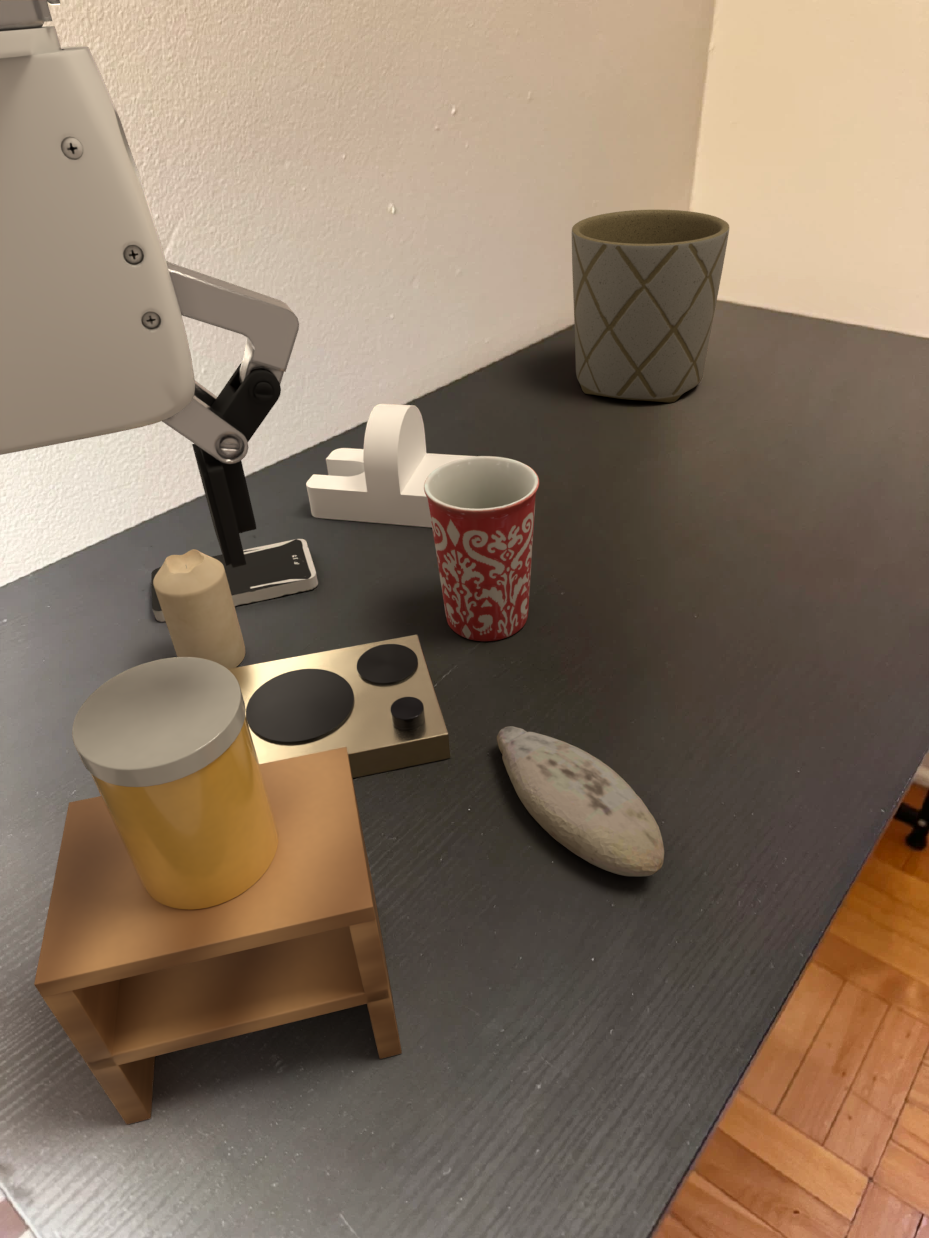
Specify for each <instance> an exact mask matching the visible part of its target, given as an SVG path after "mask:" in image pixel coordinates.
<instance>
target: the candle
mask: <svg viewBox="0 0 929 1238" xmlns="http://www.w3.org/2000/svg"><path fill="white" fill-rule="evenodd" d="M160 567H161V568H160V570H159V571H158V572H157V574H156V575H155V577H154V580H153V584H154V588H155V591H156V594H157V597H158V600H159V603H160V606H161V609H162V612H163V615H164V618H165V621H166V622H165V624H166V627H167V630H168V633H169V637H170V639H171V642H172V645H173V648H174V651H175V654H176V657H194V658H202V659H206V660H210V661H213V662H216V663H218V664H220V665H222V666H224V667H225V668H227V669H231V668H236V667H239V665H241V663H242V662H243V661H244V659H245V656H246V646H245V645H246V644H245V641H244V637H243V633H242V629H241V625H240V621H239V618H238V614H237V610H236V606H234V603H233V599H232V595H231V592H230V588H229V584H228V580H227V577H226V573H225V569H224V566H223V564H222V563H221V562H220V561H218V560H217V559H215V558H212V556H209V555H208V554H205V553H203V552H202V551H199V550H198V549H190V550H188V551H186V552H185V553H183V554H171V555H168V556H166V558H165V559H164V561H163V563H162V565H161V566H160Z"/></svg>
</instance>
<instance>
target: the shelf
mask: <svg viewBox="0 0 929 1238" xmlns="http://www.w3.org/2000/svg"><path fill="white" fill-rule="evenodd" d="M259 765H260V768H261V772H262V775H263V779H264V782H265V786H266V789H267V793H268V796H269V800H270V803H271V807H272V810H273V814H274V818H275V821H276V825H277V828H278V846H277V850H276V853H275V856H274V859H273V861H272V863H271V865H270V866H269V868H268V869H267V871H266V872H265V873H264V875H263V876H262V877H261V878H260V879H259V880H258V881H257V882H256V883H255V884H254V885H253V886H252V887H250V888H249V889H248V890H246V891H245V892H244V893H242V894H240V895H239V896H237V897H235V898H233V899H231V900H229V901H227V902H225V903H222V904H219V905H216V906H213V907H209V908H203V909H194V910H185V909H177V908H172V907H169V906H166V905H163V904H161V903H159V902H157V901H156V900H155V899H153V898H152V897H151V896H150V895H149V894H148V893H147V892H146V891H145V889H144V888H143V886H142V884H141V882H140V880H139V877H138V875H137V873H136V871H135V869H134V867H133V864H132V862H131V860H130V858H129V856H128V854H127V851H126V849H125V847H124V845H123V843H122V841H121V838H120V836H119V834H118V832H117V830H116V828H115V825H114V823H113V821H112V819H111V817H110V815H109V812H108V810H107V808H106V806H105V804H104V801H103V799H102V797H101V795H98V796H94V797H90V798H84V799H79V800H73V801H70V802H68V806H67V810H66V814H65V815H66V816H65V820H64V826H63V831H62V836H61V842H60V847H59V853H58V857H57V862H56V868H55V873H54V877H53V878H54V879H53V883H52V889H51V893H50V899H49V905H48V909H47V914H46V920H45V924H44V925H45V926H44V930H43V936H42V940H41V946H40V952H39V957H38V961H37V966H36V970H35V971H36V972H35V978H34V982H33V986H34V987H35V989H36V990H37V992H38V993H39V995H40V996H41V998H42V999H43V1001H44V1002H45V1004H46V1005H47V1007H48V1008H49V1010H50V1012H51V1013H52V1015H53V1016H54V1017H55V1019H56V1020H57V1022H58V1023H59V1025H60V1027H61V1028H62V1029H63V1031H64V1033H65V1034H66V1035H67V1037H68V1038H69V1040H70V1042H71V1044H72V1045H73V1046H74V1048H75V1050H77V1052H78V1053H79V1056H81V1058H82V1060H83V1061H84V1063H85V1064H86V1065H87V1067H88V1069H89V1070H90V1071H91V1074H93V1076H94V1078H95V1080H97V1082H98V1083H99V1085H100V1087H101V1088H102V1090H103V1091H104V1093H105V1094H106V1096H107V1098H109V1101H110V1102H111V1103H112V1105H113V1106H114V1108H115V1110H116V1111H117V1112H118V1114H119V1115H120V1117H121V1118H122V1120H123V1121H124V1123H125V1124H126V1125H131V1124H135V1123H139V1122H143V1121H146V1120H150V1119H152V1109H153V1108H152V1107H153V1092H154V1078H155V1061H156V1056H157V1057H158V1056H162V1055H165V1054H169V1053H173V1052H177V1051H182V1050H185V1049H190V1048H193V1047H197V1046H201V1045H205V1044H210V1043H215V1042H218V1041H222V1040H225V1039H226V1040H227V1039H230V1038H234V1037H239V1036H242V1035H247V1034H251V1033H254V1032H258V1031H263V1030H267V1029H271V1028H275V1027H278V1026H283V1025H287V1024H291V1023H294V1022H299V1021H302V1020H306V1019H310V1018H315V1017H318V1016H322V1015H327V1014H330V1013H334V1012H339V1011H343V1010H348V1009H351V1008H355V1007H359V1006H364V1005H366V1006H367V1011H368V1015H369V1020H370V1025H371V1028H372V1033H373V1037H374V1041H375V1045H376V1050H377V1054H378V1058H379V1060H383V1059H386V1058H390V1057H393V1056H397V1055H401V1054H402V1053H403V1050H402V1043H401V1038H400V1033H399V1026H398V1022H397V1014H396V1009H395V1004H394V999H393V992H392V986H391V981H390V975H389V969H388V963H387V957H386V952H385V946H384V940H383V935H382V928H381V922H380V917H379V911H378V905H377V899H376V893H375V888H374V884H373V883H374V882H373V878H372V873H371V868H370V862H369V857H368V853H367V846H366V841H365V835H364V831H363V826H362V820H361V814H360V809H359V805H358V799H357V795H356V790H355V789H356V788H355V784H354V778H352V773H351V768H350V762H349V757H348V752H347V747H343V748H338V749H333V750H328V751H323V752H318V753H313V754H308V755H303V756H298V757H293V758H288V759H283V760H278V761H273V762H268V763H263V764H259Z"/></svg>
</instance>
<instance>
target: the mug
mask: <svg viewBox="0 0 929 1238" xmlns="http://www.w3.org/2000/svg"><path fill="white" fill-rule="evenodd" d="M475 456H476V457H468V458H463V459H458V460H455V461H451V462H449V463H446V464H444V465H442V466H440V467H438V468H437V469H435V470H434V471H433V472H432V473H430V474H429V476H428V477H427V478H426V480H425V483H424V492H425V495H426V496H427V498H428V504H429V510H430V516H431V523H432V527H431V528H432V535H433V542H434V548H435V553H436V560H437V561H436V562H437V568H438V575H439V581H440V586H441V592H442V599H443V605H444V613H445V617H446V623H447V625H448V626H449V628H450V629H451V630H452V631H453V632H454V633H455V634H457V635H459V636H460V637H462V638H465V639H467V640H471V641H476V642H495V641H501V640H504V639H507V638H509V637H511V636H514V635H515V634H517V633H518V632H519V631H520V630H521V629H522V628H524V626H525V625H526V623H527V621H528V617H529V611H530V610H529V608H530V591H531V590H530V589H531V575H532V559H533V558H532V557H533V542H534V528H535V513H536V511H535V510H536V495H537V491H538V489H539V487H540V479H539V475H538V474H537V472H536V471H535V470H534V469H533V468H532V467H530V466H529V465H527V464H526V463H523V462H521V461H519V460H516V459H512V458H508V457H503V456H492V455H478V456H477V455H475Z"/></svg>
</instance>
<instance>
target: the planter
mask: <svg viewBox="0 0 929 1238" xmlns="http://www.w3.org/2000/svg"><path fill="white" fill-rule="evenodd" d="M729 233H730V224H729V223H728V222H727V221H726V220H725V219H722V218H721V217H717V216H715V215H711V214H708V213H703V212H696V211H690V210H678V209H634V210H632V209H631V210H622V211H614V212H608V213H607V212H606V213H601V214H597V215H593V216H589V217H587V218H584V219H582V220H579V221H578V222H575V223H574V225H572V227H571V268H572V269H571V271H572V273H571V274H572V294H573V295H572V296H573V297H572V299H573V321H574V348H575V349H574V351H575V353H574V354H575V355H574V356H575V375H576V379H577V381H578V383H579V385H580V388H581V390H582V392H583V393H584V394H586V395H593V396H599V397H606V398H613V399H618V400H626V401H641V402H642V401H643V402H644V401H645V402H658V403H668V404H671V403H675V402H676V401H677V400H679V398H681V396H682V395H683V394H685V393H686V392H689V391H690V390H692V389H694V388H695V387H697V386H698V385H699V384H700V383H701V381H702V379H703V375H704V372H705V366H706V359H707V355H708V354H707V353H708V350H709V343H710V338H711V332H712V326H713V322H714V316H715V311H716V306H717V302H718V301H717V300H718V295H719V290H720V286H721V279H722V274H723V270H724V263H725V258H726V252H727V245H728V241H729Z"/></svg>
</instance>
